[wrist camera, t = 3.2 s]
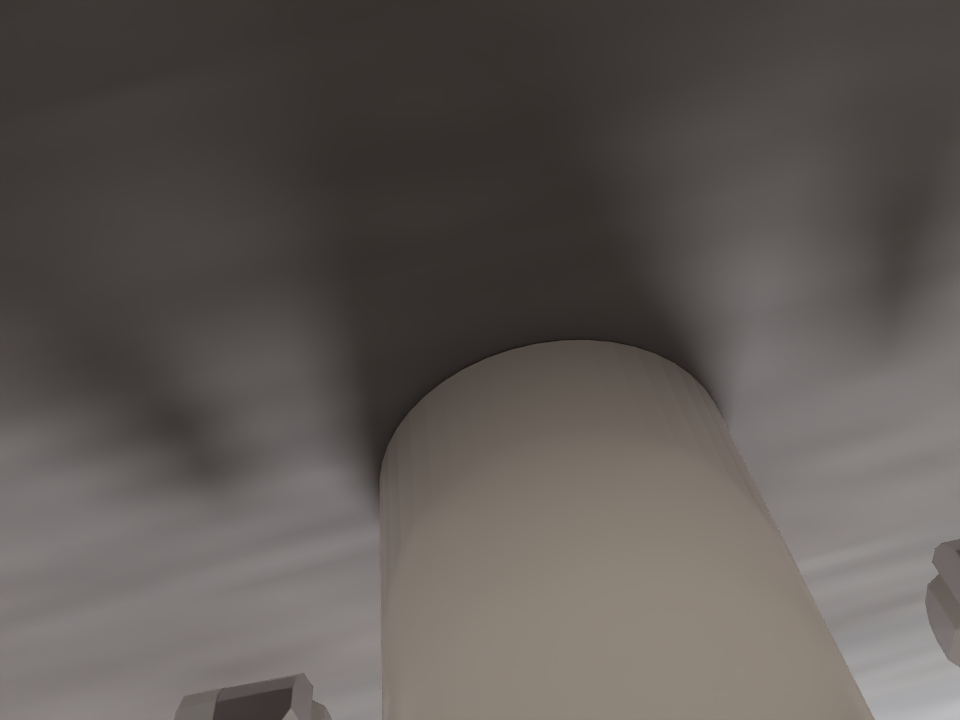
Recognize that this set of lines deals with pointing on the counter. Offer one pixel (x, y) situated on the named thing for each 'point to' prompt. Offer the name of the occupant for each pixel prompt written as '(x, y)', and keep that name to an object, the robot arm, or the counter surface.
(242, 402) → the counter surface
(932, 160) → the counter surface
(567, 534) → the cream rounded cylinder
